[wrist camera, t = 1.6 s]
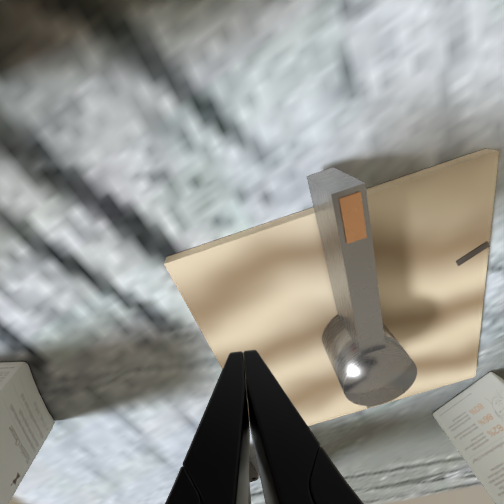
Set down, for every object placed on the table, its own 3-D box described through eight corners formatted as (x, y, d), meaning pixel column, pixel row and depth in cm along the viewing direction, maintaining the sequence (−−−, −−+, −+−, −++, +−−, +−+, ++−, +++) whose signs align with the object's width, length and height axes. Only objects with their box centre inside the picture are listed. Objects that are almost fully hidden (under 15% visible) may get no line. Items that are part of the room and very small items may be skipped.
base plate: (467, 368, 28) (476, 377, 27) (260, 429, 29) (261, 440, 28) (485, 148, 18) (500, 150, 17) (166, 256, 19) (163, 264, 18)
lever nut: (387, 365, 24) (419, 413, 20) (332, 381, 25) (354, 432, 21) (361, 157, 16) (407, 171, 12) (278, 186, 16) (297, 209, 12)
